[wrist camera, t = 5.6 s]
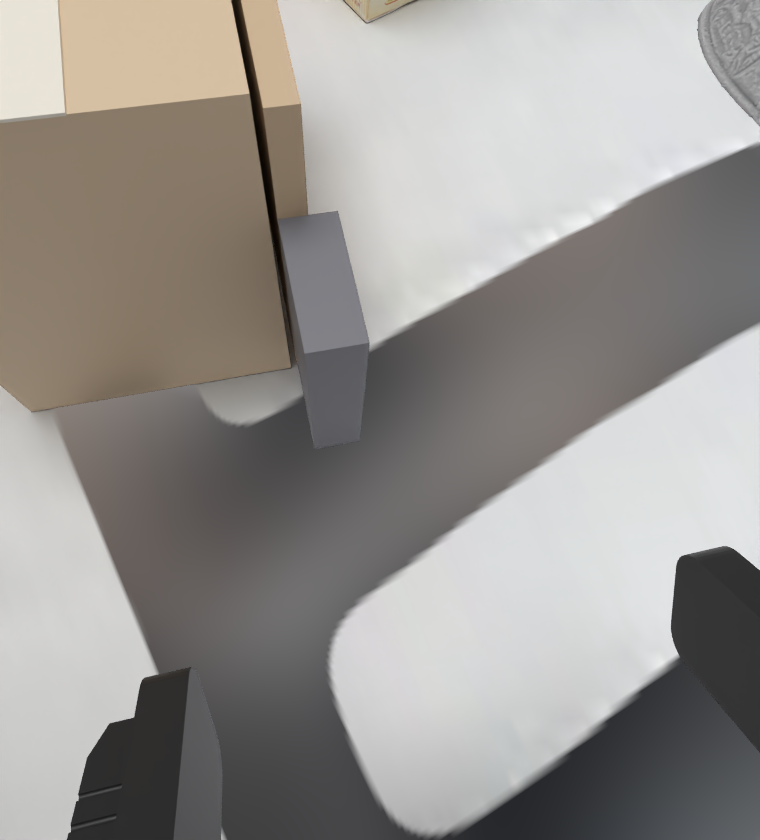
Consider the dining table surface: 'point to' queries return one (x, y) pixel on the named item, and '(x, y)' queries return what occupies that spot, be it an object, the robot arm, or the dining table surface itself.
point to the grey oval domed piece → (734, 49)
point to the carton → (130, 203)
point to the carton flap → (304, 238)
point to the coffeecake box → (375, 7)
